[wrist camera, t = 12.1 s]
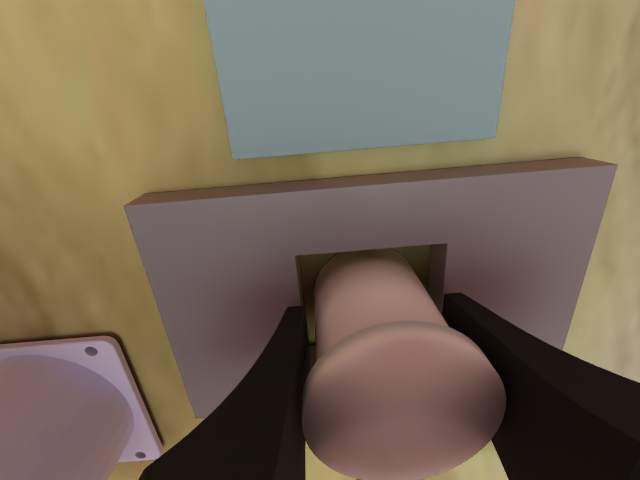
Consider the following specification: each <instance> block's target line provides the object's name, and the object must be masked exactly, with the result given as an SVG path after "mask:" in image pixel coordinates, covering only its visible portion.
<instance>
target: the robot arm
mask: <svg viewBox="0 0 640 480" xmlns="http://www.w3.org/2000/svg"><path fill="white" fill-rule="evenodd" d="M442 317H443V318H444V320H445V322H446V323H447V325H448V326H449V327H450V328H452V329H454V330H456V331H458V332H460V333H462V334H464V335H465V336H467V337H468V338H470V339H471V340H472V341H473V342H474V343H475V344H476V345H477V346H478V347H479V348H480V349H481V351H482V352H483V353H484V355H485V356H486V357H487V359H488V360H489V362H490V363H491V365H492V366H493V368H494V369H495V370H496V372H497V373H498V375H499V376H500V379H501V381H502V383H503V385H504V389H505V393H506V409H505V414H504V417H503V420H502V423H501V425H500V427H499V428H498V430H497V432H496V433H495V435H494V436H493V438H492V439H491V440H492V442H493V445H494V447H495V449H496V451H497V454H498V456H499V458H500V460H501V463H502V465H503V467H504V470H505V472H506V474H507V477H508V479H509V480H640V383H638V382H636V381H633V380H630V379H628V378H625V377H622V376H620V375H617V374H615V373H612V372H610V371H607V370H605V369H602V368H600V367H597V366H595V365H593V364H590V363H588V362H586V361H584V360H581V359H579V358H577V357H575V356H573V355H571V354H568V353H566V352H564V351H562V350H560V349H558V348H556V347H554V346H552V345H550V344H548V343H546V342H544V341H542V340H540V339H539V338H537V337H535V336H533V335H531V334H529V333H527V332H526V331H524V330H522V329H520V328H519V327H517V326H515V325H514V324H512V323H510V322H508V321H507V320H505V319H504V318H502V317H500V316H499V315H497V314H495V313H494V312H492V311H491V310H489V309H487V308H486V307H484V306H483V305H481V304H479V303H478V302H476V301H475V300H473V299H471V298H470V297H468V296H466V295H464V294H463V293H461V292H459V293H448V294H444V299H443V309H442ZM93 347H94V348H96V349H94V348H93ZM309 372H310V348H309V339H308V331H307V322H306V314H305V305H304V306H292V307H287V309H286V310H285V312H284V314H283V316H282V318H281V320H280V322H279V324H278V326H277V328H276V330H275V332H274V333H273V335H272V337H271V338H270V340H269V342H268V344H267V345H266V347H265V348H264V350H263V351H262V353H261V354H260V356H259V357H258V359H257V360H256V362H255V363H254V364H253V366H252V367H251V368H250V370H249V371H248V372H247V374H246V375H245V376H244V378H243V379H242V380H241V381H240V382H239V384H238V385H237V386H236V387H235V388H234V389H233V391H232V392H231V393H230V394H229V395H228V396H227V397H226V398H225V399H224V400H223V402H222V403H221V404H220V405H219V406H218V407H217V408H216V409H215V410H214V411H213V412H212V413H211V414H210V415H209V416H208V417H207V418H205V419H204V420H203V421H202V422H201V423H200V424H199V425H198V426H197V427H196V428H195V429H194V430H192V431H191V432H190V433H189V434H188V435H187V436H186V437H184V438H183V439H182V440H181V441H180V442H178V443H177V444H176V445H175V446H173V447H172V448H171V449H170V450H168V451H167V452H166V453H164V454H163V455H162V456H161V457H160V455H161V453H162V450H163V447H162V444H161V442H160V440H159V437H158V435H157V433H156V430H155V428H154V425H153V423H152V421H151V418H150V416H149V414H148V411H147V409H146V407H145V404H144V402H143V400H142V397H141V395H140V392H139V390H138V388H137V385H136V383H135V381H134V378H133V376H132V374H131V371H130V369H129V367H128V364H127V362H126V359H125V357H124V355H123V352H122V350H121V348H120V345H119V343H118V342H117V340H115V339H114V338H113V337H110V336H94V337H82V338H70V339H58V340H46V341H34V342H22V343H10V344H0V480H108V479H109V477H110V476H111V474H112V472H113V470H114V468H115V466H116V464H117V463H121V462H133V461H145V460H154V459H157V458H158V459H157V460H156V461H154V462H153V463H152V464H150V465H149V466H148V467H146V468H145V469H144V471H143V472H142V474H141V476H140V478H139V480H305V442H306V440H305V437H304V433H303V429H302V396H303V389H304V385H305V382H306V378H307V376H308V374H309Z"/></svg>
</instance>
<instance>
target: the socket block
mask: <svg viewBox="0 0 640 480" xmlns="http://www.w3.org/2000/svg"><path fill="white" fill-rule="evenodd" d="M617 166H618V165H617V164H613V163H608V162H603V161H598V160H593V159H589V158H584V157H575V158H563V159H552V160H540V161H528V162H516V163H504V164H492V165H480V166H468V167H456V168H444V169H432V170H420V171H408V172H396V173H385V174H373V175H361V176H349V177H337V178H325V179H313V180H301V181H289V182H277V183H265V184H253V185H241V186H230V187H218V188H206V189H194V190H182V191H170V192H158V193H146V194H144V195H142V196H140V197H138V198H137V199H135V200H133V201H131V202H130V203H128V204H126V205H124V209H125V212H126V215H127V218H128V221H129V224H130V227H131V230H132V232H133V235H134V238H135V241H136V244H137V247H138V250H139V253H140V256H141V259H142V262H143V265H144V268H145V271H146V274H147V276H148V279H149V282H150V285H151V288H152V291H153V294H154V297H155V300H156V303H157V306H158V309H159V312H160V315H161V318H162V320H163V323H164V326H165V329H166V332H167V335H168V338H169V341H170V344H171V347H172V350H173V353H174V356H175V359H176V362H177V364H178V367H179V370H180V373H181V376H182V379H183V382H184V385H185V388H186V391H187V394H188V397H189V400H190V403H191V406H192V408H193V411H194V414H195V417H196V418H207V417H208V416H209V415H210V414H211V413H212V412H213V411H214V410H215V409H216V408H217V407H218V406H219V405H220V404H221V403H222V402H223V400H224V399H225V398H226V397H227V396H228V395H229V394H230V393H231V392H232V391H233V389H234V388H235V387H236V386H237V385H238V384H239V382H240V381H241V380H242V379H243V378H244V376H245V375H246V374H247V372H248V371H249V370H250V368H251V367H252V366H253V364H254V363H255V362H256V360H257V359H258V357H259V356H260V354H261V353H262V351H263V350H264V348H265V347H266V345H267V344H268V342H269V340H270V338H271V337H272V335H273V333H274V332H275V330H276V328H277V326H278V324H279V322H280V320H281V318H282V316H283V314H284V312H285V310H286V309H287V307H292V306H304V301H303V292H302V283H301V275H300V266H299V258H298V256H299V255H311V254H323V253H335V252H347V251H359V250H371V249H383V248H395V247H407V246H419V245H431V257H430V271H429V285H428V294H429V296H430V297H431V299H432V301H433V302H434V304H435V305H436V307H437V309H438V310H439V312H440V313H441V315H442V309H443V299H444V294H448V293H459V292H461V293H463V294H464V295H466V296H468V297H470V298H471V299H473V300H475V301H476V302H478V303H479V304H481V305H483V306H484V307H486V308H487V309H489V310H491V311H492V312H494V313H495V314H497V315H499V316H500V317H502V318H504V319H505V320H507V321H508V322H510V323H512V324H514V325H515V326H517V327H519V328H520V329H522V330H524V331H526V332H527V333H529V334H531V335H533V336H535V337H537V338H539V339H540V340H542V341H544V342H546V343H548V344H550V345H552V346H554V347H556V348H558V349H560V350H563V347H564V343H565V340H566V337H567V333H568V330H569V327H570V323H571V320H572V317H573V313H574V310H575V307H576V303H577V300H578V297H579V293H580V290H581V286H582V283H583V280H584V276H585V273H586V270H587V266H588V263H589V260H590V256H591V253H592V250H593V246H594V243H595V239H596V236H597V233H598V229H599V226H600V223H601V219H602V216H603V213H604V209H605V206H606V203H607V199H608V196H609V193H610V189H611V186H612V182H613V179H614V176H615V172H616V169H617ZM309 348H310V370H311V369H312V367H313V366H314V364H315V363H316V345H309Z"/></svg>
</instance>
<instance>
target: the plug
mask: <svg viewBox="0 0 640 480" xmlns="http://www.w3.org/2000/svg"><path fill="white" fill-rule="evenodd" d="M314 308H315V342H316V363H315V364H314V366H313V367H312V369H311V370H310V372H309V374H308V376H307V378H306V382H305V385H304V389H303V396H302V429H303V433H304V437H305V440H306V442H307V444H308V446H309V448H310V449H311V451H312V452H313V453H314V454H315V456H316V457H317V458H318V459H319V460H320V461H322V462H323V463H324V464H326V465H327V466H328V467H330V468H332V469H333V470H335V471H337V472H339V473H342V474H344V475H346V476H349V477H352V478H356V479H360V480H419V479H424V478H428V477H431V476H435V475H438V474H440V473H443V472H446V471H448V470H450V469H452V468H454V467H456V466H458V465H460V464H462V463H463V462H465V461H467V460H468V459H470V458H471V457H473V456H474V455H475V454H477V453H478V452H479V451H480V450H481V449H482V448H483V447H485V446H486V444H487V443H488V442H489V441H490V440H491V439H492V438H493V436H494V435H495V433H496V432H497V430H498V428H499V427H500V425H501V423H502V420H503V417H504V414H505V409H506V393H505V389H504V385H503V383H502V381H501V379H500V376H499V375H498V373H497V372H496V370H495V369H494V368H493V366H492V365H491V363H490V362H489V360H488V359H487V357H486V356H485V355H484V353H483V352H482V351H481V349H480V348H479V347H478V346H477V345H476V344H475V343H474V342H473V341H472V340H471V339H470V338H468V337H467V336H465V335H464V334H462V333H460V332H458V331H456V330H454V329H452V328H450V327H449V326H448V325H447V323H446V322H445V320H444V318H443V317H442V315H441V313H440V312H439V310H438V309H437V307H436V305H435V304H434V302H433V301H432V299H431V297H430V296H429V294H428V292H427V291H426V289H425V288H424V286H423V284H422V283H421V281H420V280H419V278H418V276H417V275H416V273H415V272H414V270H413V268H412V267H411V265H410V264H409V262H408V261H407V260H406V259H405V258H404V257H403V256H402V255H400V254H399V253H397V252H395V251H394V250H392V249H389V248H383V249H371V250H359V251H347V252H340V253H338V254H337V255H335V256H334V257H332V258H331V259H330V260H329V261H328V262H327V263H326V264H325V265H324V266H323V268H322V269H321V271H320V272H319V274H318V276H317V279H316V282H315V287H314Z"/></svg>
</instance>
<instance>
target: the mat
mask: <svg viewBox="0 0 640 480" xmlns="http://www.w3.org/2000/svg"><path fill="white" fill-rule="evenodd" d="M514 3H515V0H204V5H205V10H206V15H207V21H208V26H209V32H210V37H211V43H212V48H213V53H214V59H215V64H216V70H217V75H218V81H219V86H220V91H221V97H222V102H223V108H224V113H225V119H226V124H227V129H228V135H229V140H230V146H231V151H232V157H233V160H236V159H248V158H260V157H272V156H284V155H296V154H307V153H319V152H331V151H343V150H355V149H367V148H379V147H391V146H403V145H415V144H427V143H439V142H450V141H462V140H474V139H486V138H496V132H497V125H498V118H499V111H500V104H501V96H502V89H503V82H504V75H505V68H506V61H507V53H508V46H509V39H510V32H511V25H512V18H513V11H514Z"/></svg>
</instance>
